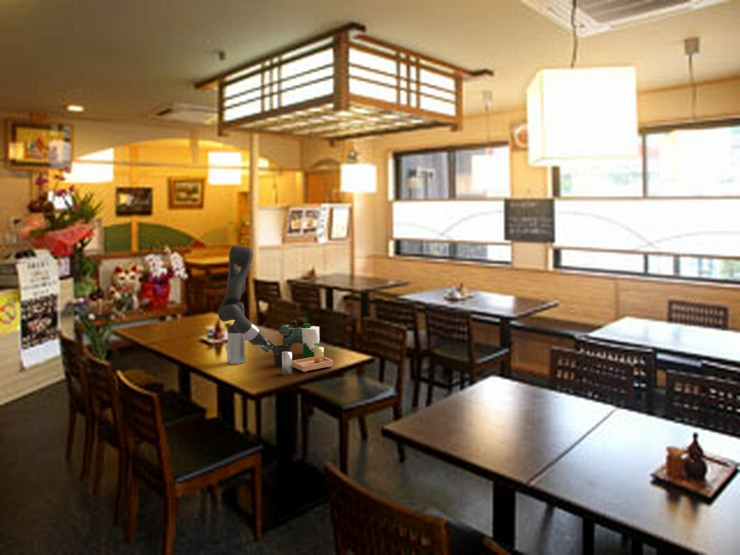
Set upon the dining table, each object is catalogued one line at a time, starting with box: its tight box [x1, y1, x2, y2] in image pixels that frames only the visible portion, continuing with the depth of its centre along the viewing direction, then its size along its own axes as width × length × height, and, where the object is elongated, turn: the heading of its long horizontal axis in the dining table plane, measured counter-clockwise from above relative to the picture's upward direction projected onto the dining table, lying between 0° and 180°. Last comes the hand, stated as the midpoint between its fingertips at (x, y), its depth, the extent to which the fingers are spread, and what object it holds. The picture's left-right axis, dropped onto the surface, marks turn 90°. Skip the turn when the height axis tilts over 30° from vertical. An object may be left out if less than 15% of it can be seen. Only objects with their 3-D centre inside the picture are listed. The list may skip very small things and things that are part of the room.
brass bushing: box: [314, 345, 325, 363], centre depth 286 cm, size 5×5×8 cm
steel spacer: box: [281, 350, 293, 376], centre depth 275 cm, size 5×5×11 cm
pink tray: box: [292, 356, 335, 374], centre depth 284 cm, size 18×13×4 cm
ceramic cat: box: [279, 320, 303, 347], centre depth 313 cm, size 20×6×20 cm, turn 76°
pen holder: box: [273, 344, 292, 368], centre depth 291 cm, size 9×9×10 cm
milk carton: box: [301, 322, 321, 359], centre depth 301 cm, size 9×9×20 cm
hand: (273, 352), depth 268 cm, fingers open, 8 cm apart
